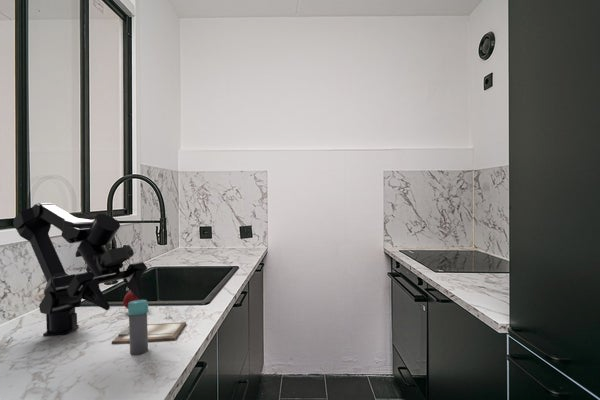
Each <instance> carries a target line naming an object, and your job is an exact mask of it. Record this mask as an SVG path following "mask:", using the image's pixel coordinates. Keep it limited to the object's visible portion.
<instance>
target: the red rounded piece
mask: <svg viewBox="0 0 600 400" xmlns="http://www.w3.org/2000/svg"><path fill="white" fill-rule="evenodd" d="M135 300H139V299H138V298H137V297H136V296H135V295H134V294H133V293H132V292H131V291H130V290H129V291H128V292H127V293H126V294H125V296H124V297H123V300H122V304H123V306H124V307H125V309H127V310H128V303H129V302H131V301H135Z"/></svg>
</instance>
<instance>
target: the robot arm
mask: <svg viewBox="0 0 600 400" xmlns="http://www.w3.org/2000/svg"><path fill="white" fill-rule="evenodd" d="M12 222H13V223H12V224H13V228H14V229H15V230H16V231H17V233H18V235H19V236H20V237H21V238H23V239H25V240H26V241H28V242H29V243H30V245H31V246H30V247H31V248H32V250H33V253H34V255H35V257H36V259H37V261H38V264H39V267H40V269H41V270H42V273H43V276H44V278H45V281H46V285H45V289H44V291H43V294H44V297H43V299H42V300H41V302H40V304H39V305H38V307H39V311H40V313H41V314H43V315H45V316H46V318H45V319H46V331H45V332H44V333H43V334H42V335H43V336H58V335H68V334H69V333H71V332H73V331H74V330H76V329H77V328H79V326H80V325H79V324H78V313H77V312H76V308H79V307H81V304H82V300H84V301H86V302H89V303H91V304H94V305H96V306H97V307H99V308H101V309H103V310H105V311H109V310H110V308H111V306H110V304H109V302H108V300H107V298H106V297H105V295H104V293H103V291H102V290H101V289H100V284H107V283H110V282H111V283H112V282H115V281H119V280H123V282H124V283H125V284H126V285H125V286H126V288H127V289H128V290H129V291H131V292H132V293H133V294H134V295H135V296H136V297H137V298H138V299H139V300H144V294H143V287H142V277H143V276H144V274H145V273H146V272H147V270H148V267H147V265H146V264H145V263H144V262H143V261H142V262H141V261H140V262H134V263H129V265H128V266H127V268H126V269H125V270H120V269H122V268H123V267H124V262H125V261H127V260H130V258H131V257H133V256H134V255H135V253H134V249H133V248H132V247H131V246H130V244H127V245H123V246H121V247H115V248H111V249H107V248H106V246H107V245H109V244H111V242H112V241H113V239H114V237H115V235H116V234H117V232H118V231H119V229H120V227H121V224H120V222H119V220H117V219H116V218H114V217H113V216H109V215H107V214H106V212H102V213H101V212H99V213H97V214H96V215H95V217H94V219H93V220H91V219H88V218H81V217H80V218H79V217H76V216H74V215H72V214H71V213H69V212H68V211H66V210H64V209H62V208H60V207H59V206H58V205H57V204H56V203H54V202H39V203H36V204H34V205H33V206H32V207H30V208H27V209H24V210H22V211H20V212H19V213H18V214H17V215H16V216H15V217H14V218H13V221H12ZM52 226H53V227H54V228H57V229H58V230H60V231H61V235H60V236H61V237H62V238H63V239H64V240H65V241H66V242H67V243H69V244H77V243H79V245H78V246H77V249H76V251H75V257H76V258H79V257H80V258H81V257H82V259H83V261H84V263H85V264H86V268H85V271H86V272H82V273H76V274H75V273H73V274H68V273H66V270H65V268H64V265H63V263H62V261H61V259H60V257H59V255H58V253H57V252H58V251H57V250H56V247H55V246H54V244H53V242H52V239H51V237H50V235H49V233H50V230H51V227H52Z"/></svg>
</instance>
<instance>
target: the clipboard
mask: <svg viewBox="0 0 600 400" xmlns="http://www.w3.org/2000/svg"><path fill="white" fill-rule="evenodd" d="M186 325H187V322H186V321H183V322H167V323H165V322H164V323H151V324H150V323H149V324H148V323H147V329H148V343H150V342H161V341H162V342H166V341H176V340H177V338H178V336H180V334H181V332H182V331H183V329H185V327H186ZM114 344H130V334H129V326H128V327H125V328H124V329H123V330H122V331H120V332H119V333H118V335H117V336H116V337H115V338H114V339H112V341H111V345H114Z"/></svg>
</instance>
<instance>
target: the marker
mask: <svg viewBox="0 0 600 400" xmlns="http://www.w3.org/2000/svg"><path fill="white" fill-rule="evenodd" d="M127 312H128V324H129V326H128V327H129V334H130V343H129V354H130V355H132V356H139V355H143V354H146V353H147V352H148V351H149V342H148V329H147V324H148V313H149V303H148V300H147V299H142V300H135V301H131V302H129V303H128V309H127Z"/></svg>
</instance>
